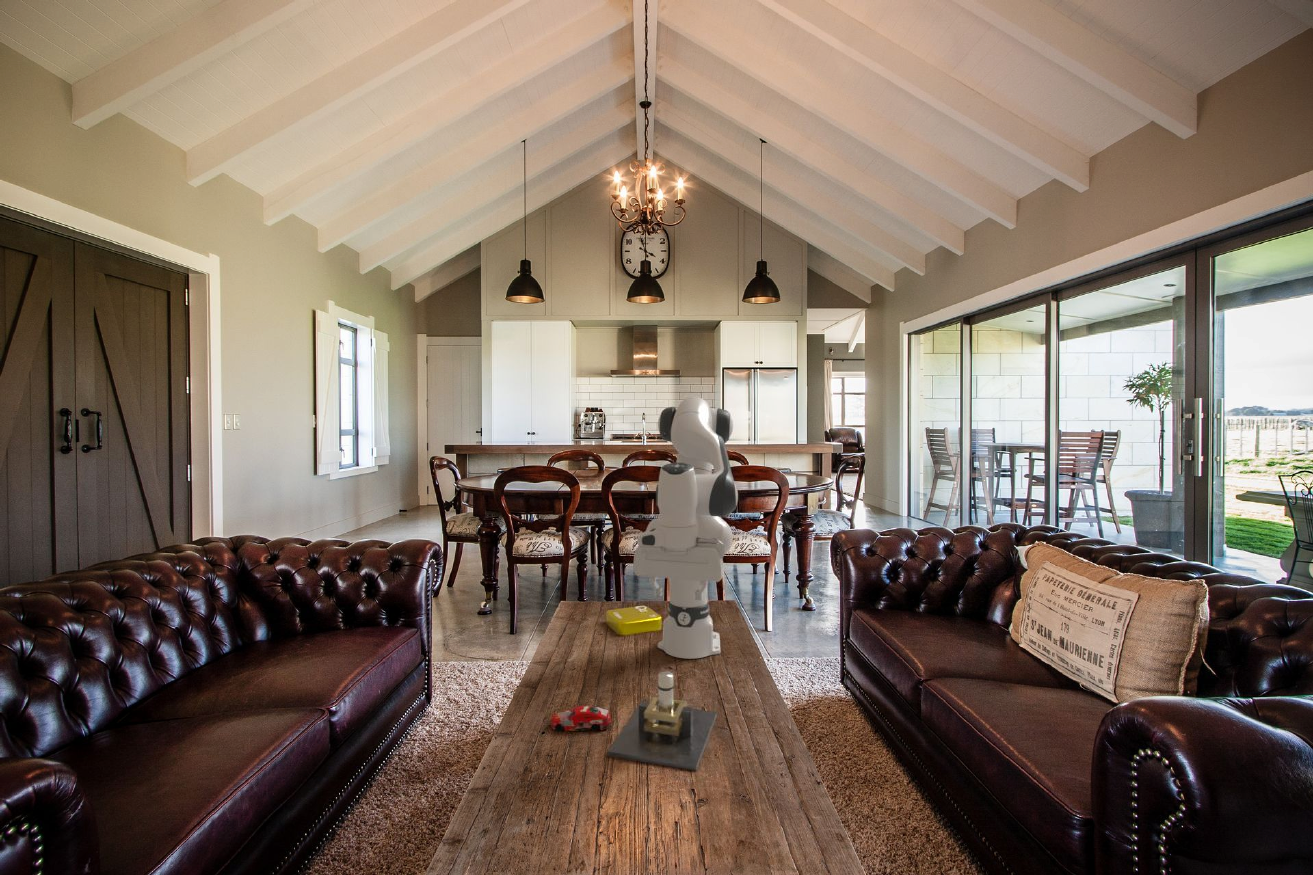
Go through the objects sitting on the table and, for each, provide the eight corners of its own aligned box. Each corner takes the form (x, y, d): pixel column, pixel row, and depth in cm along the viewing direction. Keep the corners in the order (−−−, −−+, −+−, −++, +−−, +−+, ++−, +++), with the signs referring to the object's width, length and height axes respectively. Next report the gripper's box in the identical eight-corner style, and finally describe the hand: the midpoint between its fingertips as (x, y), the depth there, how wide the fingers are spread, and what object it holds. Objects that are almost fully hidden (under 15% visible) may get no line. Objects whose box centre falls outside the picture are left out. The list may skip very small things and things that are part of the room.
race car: (548, 733, 127) (547, 715, 127) (552, 720, 132) (552, 703, 132) (609, 733, 127) (609, 714, 127) (611, 720, 132) (611, 703, 132)
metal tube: (660, 725, 127) (660, 670, 127) (675, 727, 127) (675, 672, 126) (655, 733, 124) (655, 676, 124) (671, 735, 123) (671, 678, 123)
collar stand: (641, 705, 138) (641, 680, 138) (716, 716, 133) (716, 689, 133) (607, 756, 117) (607, 725, 117) (696, 770, 112) (696, 738, 112)
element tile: (604, 622, 199) (604, 608, 198) (645, 617, 205) (645, 603, 205) (620, 637, 185) (620, 622, 185) (663, 630, 191) (663, 615, 191)
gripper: (726, 535, 131) (727, 596, 132) (639, 531, 137) (640, 589, 138) (721, 542, 125) (722, 606, 126) (630, 537, 131) (631, 598, 132)
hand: (678, 597), depth 132 cm, fingers open, 8 cm apart
